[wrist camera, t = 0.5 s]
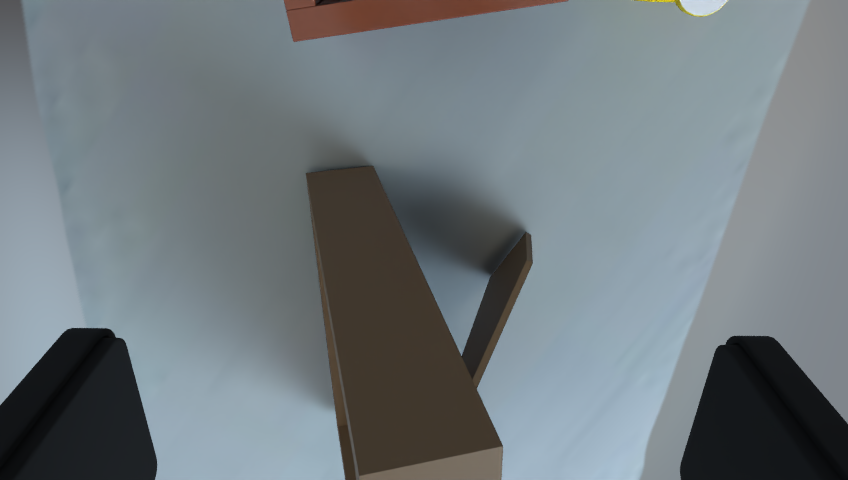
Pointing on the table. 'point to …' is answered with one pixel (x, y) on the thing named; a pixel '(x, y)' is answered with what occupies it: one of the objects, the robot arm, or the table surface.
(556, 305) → the table surface
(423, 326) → the photo frame
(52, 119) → the table surface
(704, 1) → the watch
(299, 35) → the holder
